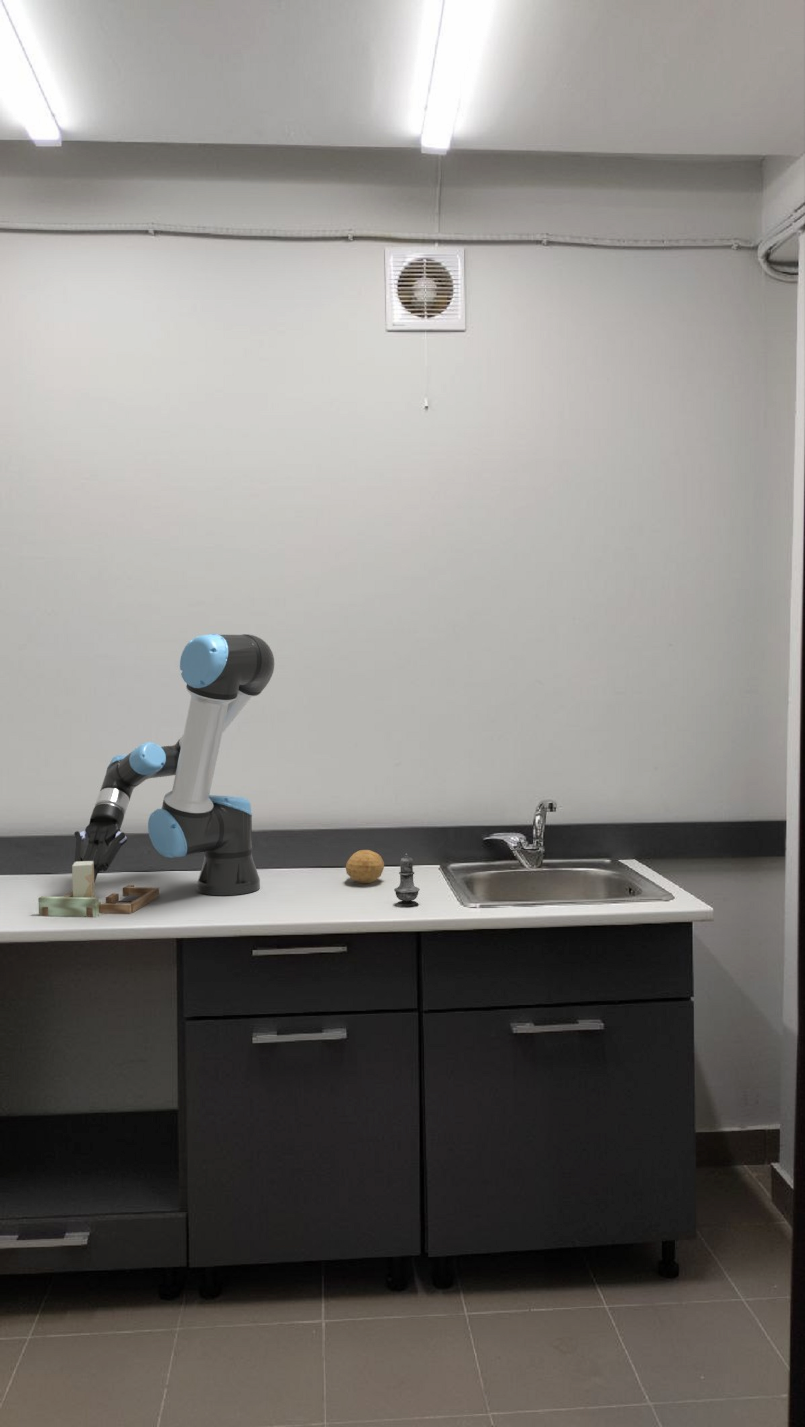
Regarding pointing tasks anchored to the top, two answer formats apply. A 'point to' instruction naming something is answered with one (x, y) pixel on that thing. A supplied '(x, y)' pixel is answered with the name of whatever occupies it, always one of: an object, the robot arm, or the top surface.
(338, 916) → the top surface
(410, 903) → the salt shaker
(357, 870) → the potato
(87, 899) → the brown green flat frame
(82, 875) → the box
